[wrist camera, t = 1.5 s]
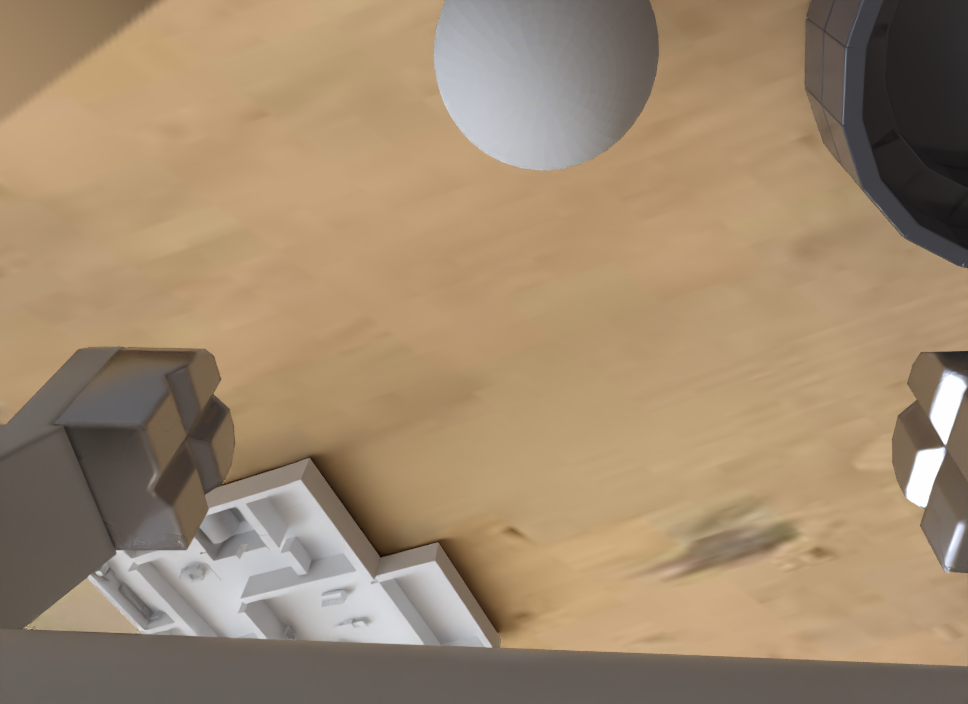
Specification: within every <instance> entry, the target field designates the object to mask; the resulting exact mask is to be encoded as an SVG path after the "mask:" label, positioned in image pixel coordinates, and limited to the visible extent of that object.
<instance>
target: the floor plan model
mask: <svg viewBox="0 0 968 704" xmlns="http://www.w3.org/2000/svg"><path fill="white" fill-rule="evenodd" d="M205 498H206V501H207V505H208V508H209V510H208V512H207V514H206V516H205V518H204V520H203V521H202V523H201V525H200V527H199V529H198V531H197V533H196V534H195V536H194V538H193V540H192V542H191V544H190V546H189V547H188V549H187V550H116V555H115V556H113V557H112V558H111V559H110V560H108V561H107V562H106V563H105V564H103V565H102V566H101V567H99V568H98V569H97V570H96V571H94V572H93V573H92V574H91V575H89V576H88V577H87V578H88V580H89V581H90V582H91V583H92V584H93V585H94V586H95V587H96V588H97V589H98V590H99V591H100V592H101V593H102V594H103V595H104V596H105V597H106V598H107V599H108V600H109V601H110V602H111V603H112V604H113V605H114V606H115V607H116V608H117V609H118V610H119V611H120V612H121V613H122V614H123V615H124V616H125V617H126V618H127V619H128V620H129V621H130V622H131V623H132V624H133V625H134V626H135V627H136V628H137V629H138V630H139V632H140V633H141V634H153V635H179V636H204V637H230V638H255V639H281V640H306V641H332V642H358V643H385V644H411V645H438V646H464V647H491V648H500V644H501V638H500V636H499V635H498V633H497V632H496V630H495V629H494V627H493V626H492V624H491V623H490V621H489V619H488V618H487V616H486V615H485V613H484V612H483V610H482V609H481V607H480V606H479V604H478V603H477V601H476V599H475V598H474V596H473V595H472V593H471V592H470V590H469V589H468V587H467V586H466V584H465V583H464V581H463V580H462V578H461V576H460V575H459V573H458V572H457V570H456V569H455V567H454V566H453V564H452V563H451V561H450V560H449V558H448V556H447V555H446V553H445V552H444V550H443V549H442V547H441V546H440V544H439V543H438V542H437V543H434V544H430V545H426V546H422V547H419V548H415V549H411V550H407V551H403V552H400V553H396V554H392V555H388V556H385V557H381V558H380V556H379V555H378V553H377V552H376V551H375V549H374V548H373V546H372V545H371V544H370V542H369V541H368V539H367V538H366V536H365V535H364V534H363V532H362V531H361V529H360V528H359V527H358V525H357V524H356V522H355V521H354V520H353V518H352V517H351V515H350V514H349V513H348V511H347V510H346V508H345V507H344V506H343V504H342V503H341V501H340V500H339V499H338V497H337V496H336V494H335V493H334V491H333V490H332V489H331V487H330V486H329V484H328V483H327V482H326V480H325V479H324V477H323V476H322V475H321V473H320V472H319V470H318V469H317V468H316V466H315V465H314V463H313V462H312V461H311V459H310V458H307V459H304V460H301V461H299V462H297V463H293V464H290V465H287V466H284V467H281V468H278V469H274V470H271V471H268V472H265V473H262V474H258V475H255V476H252V477H249V478H246V479H243V480H239V481H236V482H233V483H230V484H227V485H224V486H220V487H217V488H215V489H213V490H212V491H210V492H209V493H207V494H206V495H205ZM566 548H567V547H566Z"/></svg>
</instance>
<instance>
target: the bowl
mask: <svg viewBox="0 0 968 704" xmlns="http://www.w3.org/2000/svg"><path fill="white" fill-rule="evenodd" d="M805 90H806V93H807V96H808V99H809V102H810V105H811V108H812V111H813V114H814V117H815V120H816V123H817V126H818V129H819V132H820V135H821V138H822V140H823V143H824V145H825V146H826V148H827V149H828V150H829V151H830V152H831V154H832V155H833V156H834V157H835V158H836V160H837V161H838V162H839V163H840V164H841V166H842V167H843V168H844V169H845V170H846V172H847V173H848V174H849V175H850V176H851V177H852V179H853V180H854V181H855V182H856V183H857V185H858V186H859V187H860V188H861V189H862V191H863V192H864V193H865V194H866V195H867V196H868V198H869V199H870V200H871V201H872V202H873V203H874V205H875V206H876V207H877V208H878V209H879V210H880V212H881V213H882V214H883V215H884V216H885V217H886V218H887V220H888V221H889V222H890V223H891V224H892V225H893V227H894V228H895V229H896V230H897V231H898V232H899V234H900V235H901V236H903V237H904V238H905V239H907V240H909V241H911V242H912V243H914V244H916V245H918V246H920V247H922V248H924V249H926V250H928V251H930V252H932V253H934V254H936V255H938V256H940V257H942V258H944V259H945V260H947V261H949V262H951V263H953V264H955V265H957V266H961V267H964V268H968V0H811V4H810V7H809V10H808V13H807V19H806V43H805Z"/></svg>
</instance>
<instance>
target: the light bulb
mask: <svg viewBox="0 0 968 704" xmlns="http://www.w3.org/2000/svg"><path fill="white" fill-rule="evenodd" d="M658 57H659V42H658V31H657V25H656V19H655V15H654V12H653V9H652V6H651V3H650V0H446V1H445V3H444V6H443V8H442V11H441V14H440V17H439V21H438V24H437V29H436V36H435V43H434V66H435V73H436V79H437V84H438V87H439V90H440V93H441V97H442V100H443V102H444V104H445V106H446V108H447V110H448V112H449V114H450V116H451V118H452V119H453V121H454V122H455V123H456V125H457V126H458V128H459V129H460V131H461V132H462V133H463V134H464V135H465V136H466V137H467V138H468V139H469V140H470V141H471V142H472V143H473V144H474V145H475V146H477V147H478V148H479V149H481V150H482V151H483V152H484V153H486V154H488V155H490V156H491V157H493V158H495V159H497V160H499V161H501V162H504V163H506V164H509V165H512V166H515V167H519V168H524V169H529V170H545V171H546V170H556V169H563V168H567V167H571V166H575V165H579V164H581V163H583V162H586V161H588V160H591V159H593V158H595V157H596V156H598V155H599V154H601V153H603V152H604V151H606V150H608V149H609V148H610V147H611V146H612V145H614V144H615V143H616V142H617V141H618V140H620V139H621V138H622V136H623V135H624V134H625V133H626V132H627V131H628V130H629V129H630V128H631V126H632V125H633V124H634V122H635V121H636V119H637V118H638V116H639V115H640V113H641V112H642V110H643V108H644V106H645V104H646V102H647V100H648V97H649V95H650V93H651V90H652V87H653V83H654V80H655V77H656V71H657V64H658Z"/></svg>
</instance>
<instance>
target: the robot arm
mask: <svg viewBox="0 0 968 704" xmlns="http://www.w3.org/2000/svg"><path fill="white" fill-rule="evenodd" d="M220 381H221V377H220V373H219V370H218V367H217V364H216V361H215V358H214V356H213V355H212V354H211V353H209V352H208V351H207V350H206V349H189V348H145V347H128V348H125V347H88V348H83V349H78V350H77V351H76V352H75V353H74V354H73V355H72V357H71V358H70V359H69V360H68V361H67V362H66V363H65V364H64V365H63V366H62V367H61V368H60V369H59V370H58V371H57V372H56V373H55V374H54V375H53V376H52V377H51V378H50V379H49V380H48V381H47V382H46V383H45V385H44V386H43V387H42V388H41V389H40V390H39V391H38V392H37V393H36V394H35V395H34V396H33V397H32V398H31V399H30V400H29V401H28V402H27V403H26V404H25V405H24V406H23V407H22V408H21V409H20V410H19V412H18V413H17V414H16V415H15V416H14V417H13V418H12V419H11V420H10V421H9V422H8V423H7V424H6V425H0V704H968V666H947V665H923V664H898V663H873V662H848V661H824V660H799V659H774V658H750V657H725V656H700V655H676V654H650V653H623V652H597V651H570V650H544V649H517V648H491V647H464V646H438V645H411V644H385V643H358V642H332V641H306V640H281V639H255V638H230V637H204V636H179V635H153V634H127V633H102V632H76V631H51V630H25V629H23V628H24V627H25V626H27V625H28V624H29V623H30V622H32V621H33V620H34V619H35V618H37V617H38V616H39V615H40V614H42V613H43V612H44V611H45V610H47V609H48V608H49V607H51V606H52V605H53V604H54V603H56V602H57V601H58V600H59V599H61V598H62V597H63V596H64V595H66V594H67V593H68V592H69V591H71V590H72V589H73V588H74V587H76V586H77V585H78V584H79V583H81V582H82V581H83V580H84V579H86V578H87V577H88V576H89V575H91V574H92V573H93V572H94V571H96V570H97V569H98V568H99V567H101V566H102V565H103V564H105V563H106V562H107V561H108V560H110V559H111V558H112V557H113V556H115V555H116V550H187V549H188V547H189V546H190V544H191V542H192V540H193V538H194V536H195V534H196V533H197V531H198V529H199V527H200V525H201V523H202V521H203V520H204V518H205V516H206V514H207V512H208V510H209V508H208V505H207V501H206V498H205V495H206V494H207V493H209V492H210V491H212V490H213V489H215V488H216V487H218V486H219V485H221V484H222V483H223V482H224V480H225V478H226V476H227V474H228V472H229V470H230V468H231V464H232V458H233V453H234V447H235V435H234V424H233V420H232V417H231V413H230V409H229V408H228V407H227V406H226V405H225V404H224V403H222V402H221V401H220V400H219V399H218V398H217V397H216V396H215V395H214V392H215V390H216V388H217V386H218V384H219V383H220ZM907 384H908V386H909V388H910V389H911V391H912V393H913V394H914V396H915V397H916V399H917V400H916V401H915V402H914V403H912V404H911V405H910V406H909V407H908V408H906V409H905V410H904V411H903V412H902V413H901V414H899V415H898V417H897V421H896V426H895V430H894V434H893V438H892V463H893V467H894V471H895V475H896V479H897V481H898V484H899V486H900V488H901V490H902V492H903V494H904V496H905V497H906V498H908V499H909V500H911V501H912V502H914V503H915V504H917V505H918V506H920V507H921V508H923V509H924V510H925V511H924V514H923V517H922V520H921V524H920V527H921V529H922V531H923V532H924V534H925V536H926V538H927V540H928V542H929V544H930V546H931V548H932V550H933V551H934V553H935V555H936V557H937V559H938V561H939V563H940V565H941V567H942V568H943V570H944V572H960V573H968V351H952V352H921V353H920V354H919V356H918V357H917V359H916V360H915V362H914V363H913V365H912V369H911V372H910V375H909V379H908V382H907Z"/></svg>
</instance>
